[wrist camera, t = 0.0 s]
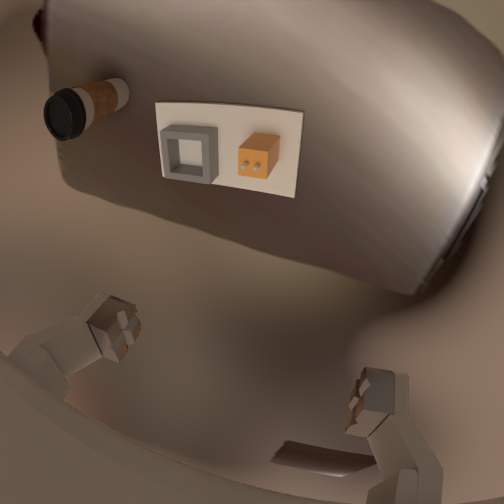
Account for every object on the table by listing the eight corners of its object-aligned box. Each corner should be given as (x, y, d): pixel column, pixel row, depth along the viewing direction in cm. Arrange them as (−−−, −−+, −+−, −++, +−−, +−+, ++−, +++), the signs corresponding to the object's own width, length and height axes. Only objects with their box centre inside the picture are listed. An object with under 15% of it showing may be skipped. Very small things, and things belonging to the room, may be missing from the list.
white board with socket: (158, 101, 46) (143, 108, 42) (304, 111, 40) (298, 118, 37) (165, 174, 55) (152, 185, 51) (295, 194, 50) (289, 208, 46)
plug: (253, 132, 44) (233, 152, 38) (280, 135, 43) (264, 156, 37) (253, 156, 46) (233, 180, 40) (278, 160, 46) (263, 184, 39)
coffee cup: (129, 120, 49) (71, 152, 38) (97, 105, 49) (39, 133, 38) (140, 79, 44) (77, 102, 33) (105, 66, 43) (42, 87, 32)
